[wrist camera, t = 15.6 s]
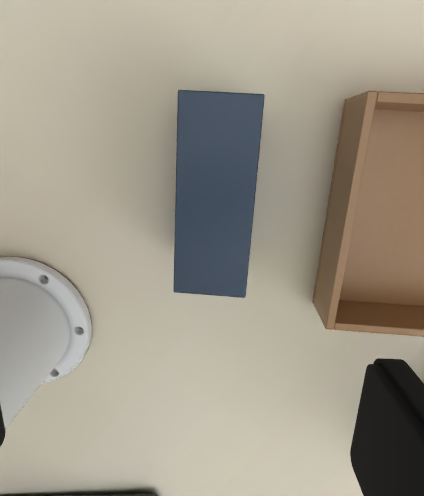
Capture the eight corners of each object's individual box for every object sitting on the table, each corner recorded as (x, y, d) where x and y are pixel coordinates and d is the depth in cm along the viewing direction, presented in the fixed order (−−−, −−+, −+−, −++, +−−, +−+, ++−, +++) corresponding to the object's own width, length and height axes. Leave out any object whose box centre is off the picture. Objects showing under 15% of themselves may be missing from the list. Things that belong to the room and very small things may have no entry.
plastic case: (187, 257, 28) (173, 292, 22) (192, 103, 25) (177, 89, 18) (242, 261, 28) (245, 298, 22) (256, 106, 25) (264, 94, 18)
